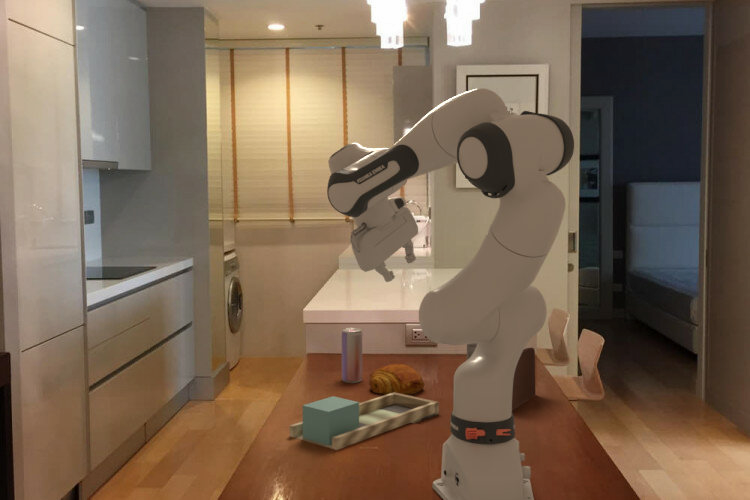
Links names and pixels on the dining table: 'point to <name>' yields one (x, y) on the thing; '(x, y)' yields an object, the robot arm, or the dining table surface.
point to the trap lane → (379, 418)
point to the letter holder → (524, 378)
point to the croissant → (396, 380)
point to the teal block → (329, 419)
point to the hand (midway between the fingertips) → (401, 270)
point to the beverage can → (351, 355)
